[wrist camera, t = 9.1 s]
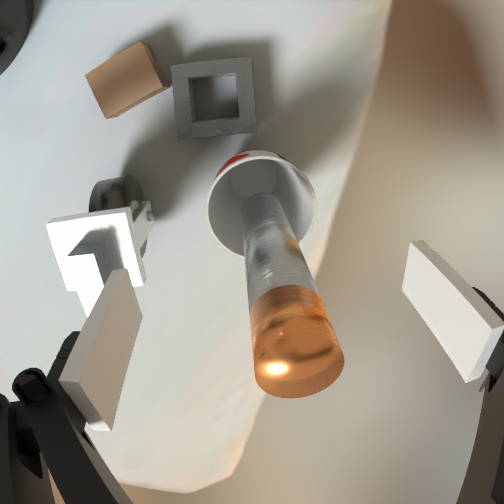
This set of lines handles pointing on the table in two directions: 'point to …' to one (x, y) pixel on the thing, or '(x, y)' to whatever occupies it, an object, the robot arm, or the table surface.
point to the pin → (285, 307)
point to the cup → (252, 182)
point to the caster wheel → (103, 238)
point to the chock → (126, 80)
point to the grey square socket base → (185, 100)
